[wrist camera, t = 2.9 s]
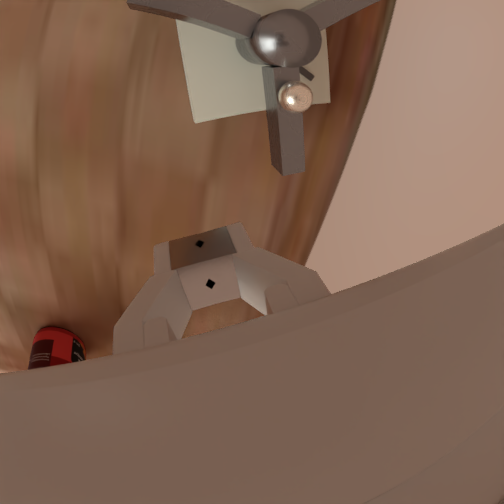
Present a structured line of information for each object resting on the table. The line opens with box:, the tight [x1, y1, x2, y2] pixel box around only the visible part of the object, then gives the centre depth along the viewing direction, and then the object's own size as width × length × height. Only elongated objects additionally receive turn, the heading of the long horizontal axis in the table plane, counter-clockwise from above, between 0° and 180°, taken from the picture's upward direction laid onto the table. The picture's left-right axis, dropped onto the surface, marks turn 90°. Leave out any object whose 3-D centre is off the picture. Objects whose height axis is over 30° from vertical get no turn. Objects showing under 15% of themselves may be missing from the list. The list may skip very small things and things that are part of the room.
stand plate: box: [176, 0, 330, 123], centre depth 19 cm, size 12×12×2 cm
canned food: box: [28, 327, 86, 370], centre depth 29 cm, size 8×8×11 cm
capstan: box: [126, 0, 380, 176], centre depth 17 cm, size 16×18×7 cm
